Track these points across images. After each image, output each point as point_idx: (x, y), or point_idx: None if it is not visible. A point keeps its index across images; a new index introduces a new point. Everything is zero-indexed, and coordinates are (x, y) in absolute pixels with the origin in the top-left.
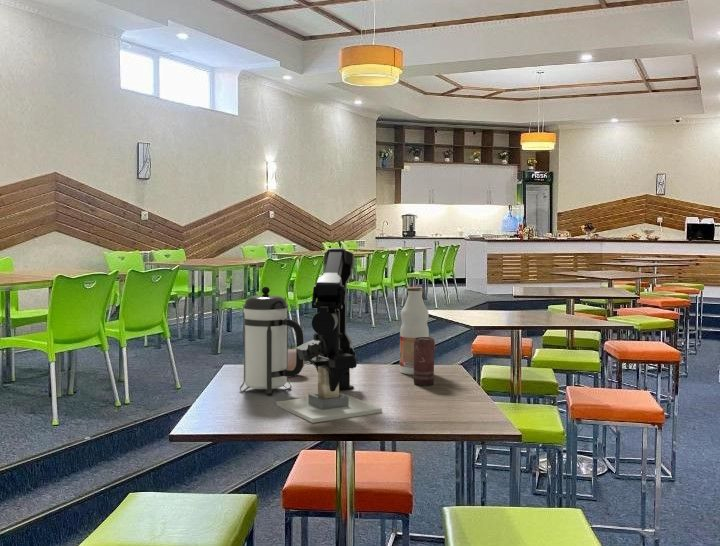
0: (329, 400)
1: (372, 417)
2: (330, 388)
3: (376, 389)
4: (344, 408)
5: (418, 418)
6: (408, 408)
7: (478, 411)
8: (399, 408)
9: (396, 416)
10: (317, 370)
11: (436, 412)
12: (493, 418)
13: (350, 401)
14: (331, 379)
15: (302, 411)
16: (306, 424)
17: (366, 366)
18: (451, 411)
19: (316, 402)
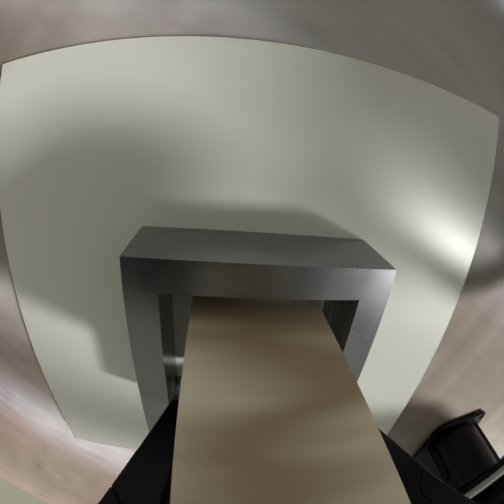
0: (128, 313)
1: (17, 365)
2: (172, 415)
3: None
4: (119, 352)
5: (2, 428)
6: (108, 477)
7: (53, 498)
8: (115, 470)
9: (23, 416)
10: (453, 499)
11: (54, 476)
12: (6, 476)
13: None
14: (109, 491)
15: (186, 68)
16: (18, 29)
17: None
18: (59, 488)
19: (243, 245)
